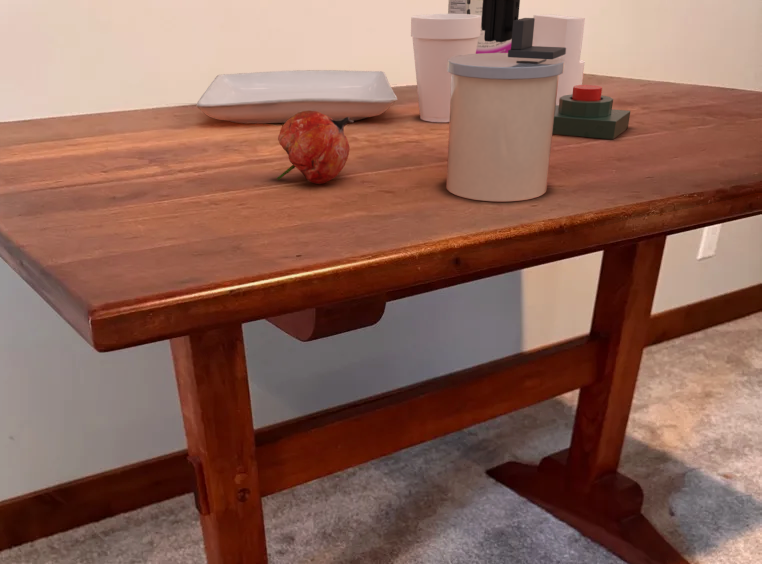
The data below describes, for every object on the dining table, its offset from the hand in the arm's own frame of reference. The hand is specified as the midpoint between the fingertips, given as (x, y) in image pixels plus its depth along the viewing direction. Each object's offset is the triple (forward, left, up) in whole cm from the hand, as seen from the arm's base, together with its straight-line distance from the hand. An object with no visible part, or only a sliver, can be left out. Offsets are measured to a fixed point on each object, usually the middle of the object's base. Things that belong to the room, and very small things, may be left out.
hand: (498, 39), depth 74 cm
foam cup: (+19, -32, -14) cm, 40 cm away
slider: (-4, 0, -1) cm, 4 cm away
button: (-1, -32, -10) cm, 34 cm away
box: (-1, -32, -14) cm, 35 cm away
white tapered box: (+9, -50, -14) cm, 53 cm away
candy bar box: (+24, -58, -14) cm, 64 cm away
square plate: (+41, -29, -14) cm, 52 cm away
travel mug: (-1, 0, -14) cm, 14 cm away
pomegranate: (+17, +6, -14) cm, 23 cm away
